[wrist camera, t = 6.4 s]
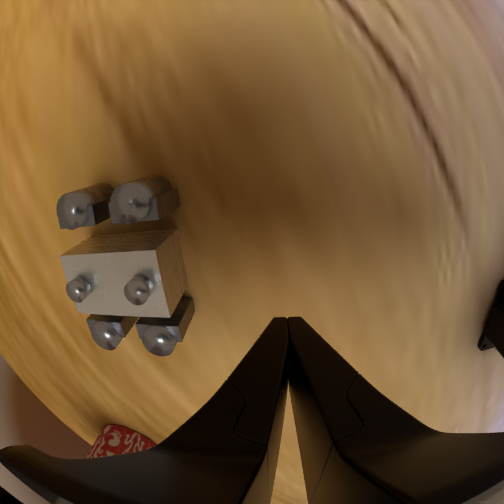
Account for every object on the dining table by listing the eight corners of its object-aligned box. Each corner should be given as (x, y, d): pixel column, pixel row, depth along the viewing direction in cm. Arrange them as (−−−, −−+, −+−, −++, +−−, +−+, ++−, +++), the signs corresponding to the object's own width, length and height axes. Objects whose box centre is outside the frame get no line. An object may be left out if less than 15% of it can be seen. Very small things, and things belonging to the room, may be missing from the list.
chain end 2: (176, 172, 14) (150, 180, 11) (196, 322, 17) (182, 357, 14) (134, 177, 14) (101, 187, 11) (160, 321, 17) (141, 354, 14)
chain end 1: (119, 180, 14) (84, 190, 11) (146, 320, 17) (126, 352, 14) (85, 186, 14) (49, 197, 11) (115, 318, 18) (92, 347, 14)
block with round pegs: (178, 227, 15) (148, 256, 11) (188, 285, 16) (165, 326, 12) (92, 235, 16) (50, 261, 12) (105, 285, 17) (71, 320, 13)
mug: (82, 419, 24) (37, 503, 11) (131, 416, 22) (84, 528, 9) (148, 472, 27) (125, 548, 15) (201, 472, 26) (183, 563, 13)
